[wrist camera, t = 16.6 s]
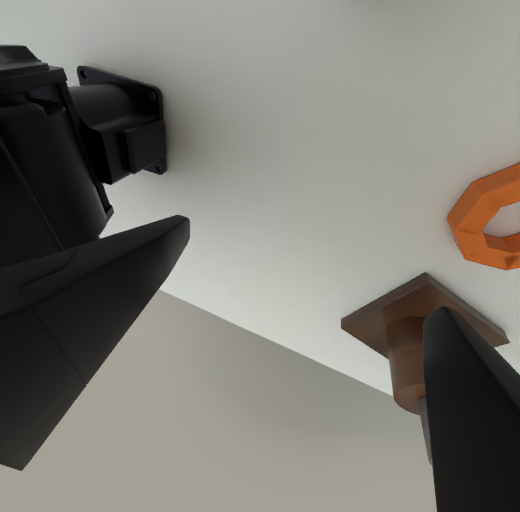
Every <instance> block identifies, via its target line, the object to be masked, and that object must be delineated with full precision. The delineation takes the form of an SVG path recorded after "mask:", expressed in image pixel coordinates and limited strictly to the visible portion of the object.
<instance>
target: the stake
mask: <svg viewBox="0 0 520 512" xmlns="http://www.w3.org/2000/svg"><path fill="white" fill-rule="evenodd" d="M442 305H445V306H448V307H451V308H454V309H456V310H458V311H459V312H460V313H461V314H462V315H463V316H464V318H465V319H466V320H467V321H468V322H469V323H470V324H471V325H472V326H473V327H474V328H475V329H476V330H477V331H478V332H479V333H480V334H481V335H482V336H483V337H484V338H485V339H486V340H487V341H488V343H489V344H490V345H491V346H492V347H493V348H494V347H498V346H501V345H504V344H508V343H510V341H509V340H508V338H507V336H506V334H505V332H504V331H503V330H501V329H500V328H499V327H497V326H496V325H495V324H493V323H492V322H491V321H489V320H488V319H487V318H485V317H484V316H483V315H481V314H480V313H479V312H477V311H476V310H475V309H473V308H472V307H471V306H469V305H468V304H467V303H465V302H464V301H463V300H461V299H460V298H459V297H457V296H456V295H455V294H453V293H452V292H451V291H449V290H448V289H447V288H445V287H444V286H443V285H441V284H440V283H439V282H437V281H436V280H435V279H433V278H432V277H431V276H429V275H428V274H427V273H424V274H422V275H420V276H419V277H417V278H415V279H413V280H411V281H410V282H408V283H406V284H404V285H402V286H401V287H399V288H397V289H395V290H393V291H392V292H390V293H388V294H386V295H385V296H383V297H381V298H379V299H377V300H376V301H374V302H372V303H370V304H368V305H367V306H365V307H363V308H361V309H359V310H358V311H356V312H354V313H352V314H351V315H349V316H347V317H345V318H343V319H342V320H341V328H342V329H343V330H345V331H346V332H348V333H349V334H351V335H352V336H354V337H355V338H357V339H358V340H360V341H361V342H363V343H364V344H366V345H367V346H369V347H370V348H372V349H374V350H375V351H377V352H378V353H380V354H381V355H383V356H384V357H386V358H387V359H389V363H390V371H391V379H392V388H393V396H394V400H395V402H396V403H397V404H398V405H399V406H400V407H402V408H403V409H405V410H406V411H409V412H411V413H414V414H417V415H420V417H421V422H422V428H423V433H424V438H425V444H426V449H427V455H428V460H429V463H430V464H431V465H432V456H431V446H430V436H429V426H428V416H427V406H426V396H425V386H424V376H423V324H424V321H425V319H426V318H427V317H428V316H429V315H430V314H431V313H432V312H434V311H435V310H436V309H437V308H438V307H440V306H442Z"/></svg>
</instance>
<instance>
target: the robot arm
mask: <svg viewBox="0 0 520 512" xmlns="http://www.w3.org/2000/svg"><path fill="white" fill-rule="evenodd" d="M85 73H86V75H87V77H86V75H85ZM77 74H78V78H79V82H80V86H75V87H68V86H67V83H66V81H67V77H66V75H65V72H64V69H63V68H61V67H54V66H48V63H44V62H41V60H38V59H37V58H36V57H35V55H34V54H33V53H32V52H31V51H30V50H29V49H28V48H27V47H26V46H21V45H0V464H1V465H5V466H8V467H10V468H14V469H17V470H20V471H22V470H23V469H24V467H26V465H27V464H28V463H29V462H30V460H31V459H32V457H33V456H34V455H35V454H36V452H37V451H38V449H39V448H40V447H41V446H42V444H43V443H44V442H45V440H46V439H47V438H48V436H49V435H50V434H51V432H52V431H53V429H54V428H55V427H56V425H57V424H58V423H59V421H60V420H61V419H62V418H63V416H64V415H65V413H66V412H67V411H68V409H69V408H70V407H71V406H72V404H73V403H74V401H75V400H76V399H77V398H78V396H79V395H80V393H81V392H82V391H83V389H84V388H85V387H86V384H88V382H89V381H90V380H91V378H92V377H93V376H94V374H95V373H96V372H97V371H98V369H99V368H100V366H101V365H102V364H103V362H104V361H105V360H106V359H107V357H108V356H109V354H110V353H111V352H112V350H113V349H114V348H115V346H116V345H117V344H118V342H119V341H120V340H121V338H122V337H123V336H124V334H125V333H126V332H127V330H128V329H129V328H130V326H131V325H132V324H133V322H134V321H135V320H136V318H137V317H138V316H139V314H140V313H141V312H142V310H143V309H144V308H145V306H146V305H147V304H148V302H149V301H150V300H151V298H152V297H153V296H154V294H155V293H156V292H157V290H158V289H159V288H160V286H161V285H162V284H163V282H164V281H165V280H166V278H167V277H168V276H169V274H170V272H171V271H172V269H173V267H174V266H175V264H176V262H177V261H178V259H179V257H180V255H181V254H182V252H183V250H184V248H185V247H186V245H187V243H188V241H189V238H190V220H189V218H187V217H184V216H181V215H175V216H172V217H169V218H165V219H162V220H159V221H156V222H153V223H149V224H146V225H143V226H140V227H136V228H133V229H130V230H127V231H124V232H120V233H117V234H114V235H111V236H107V237H104V238H101V239H100V237H99V235H100V234H101V232H102V231H103V229H104V228H105V226H106V223H107V222H108V221H109V219H110V218H111V216H112V215H113V213H114V210H113V207H112V205H110V203H109V201H108V198H107V195H106V192H105V189H104V187H103V184H104V183H106V184H109V185H112V184H114V183H115V182H117V181H119V180H121V179H122V178H124V177H126V176H128V175H129V174H136V173H137V172H139V171H141V170H143V169H144V170H147V171H150V172H153V173H156V174H159V175H162V174H163V173H165V172H166V139H165V124H164V122H163V107H162V95H161V92H160V90H159V89H158V88H157V87H155V86H152V85H149V84H145V83H142V82H139V81H135V80H132V79H129V78H125V77H122V76H119V75H115V74H112V73H108V72H105V71H102V70H98V69H95V68H92V67H88V66H79V67H78V68H77ZM152 92H154V93H155V96H156V97H155V98H154V97H153V94H152ZM158 166H159V167H160V168H161V170H160V169H159V167H158ZM423 376H424V386H425V396H426V406H427V416H428V426H429V436H430V446H431V456H432V466H433V476H434V486H435V496H436V506H437V512H520V375H519V374H518V373H517V372H516V371H515V370H514V369H513V367H512V366H511V365H510V364H509V363H508V362H507V361H506V360H505V359H504V358H503V357H502V356H501V355H500V354H499V353H498V352H497V351H496V350H495V349H494V348H493V347H492V346H491V345H490V344H489V343H488V341H487V340H486V339H485V338H484V337H483V336H482V335H481V334H480V333H479V332H478V331H477V330H476V329H475V328H474V327H473V326H472V325H471V324H470V323H469V322H468V321H467V320H466V319H465V318H464V316H463V315H462V314H461V313H460V312H459V311H458V310H456V309H454V308H451V307H448V306H445V305H442V306H440V307H438V308H437V309H436V310H435V311H434V312H432V313H431V314H430V315H429V316H428V317H427V318H426V319H425V321H424V324H423Z"/></svg>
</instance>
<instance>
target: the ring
mask: <svg viewBox="0 0 520 512" xmlns="http://www.w3.org/2000/svg"><path fill="white" fill-rule="evenodd" d="M518 201H520V163H519V164H517V165H514V166H512V167H509V168H507V169H504V170H502V171H499V172H497V173H494V174H492V175H489V176H487V177H484V178H482V179H479V180H477V181H474V182H472V183H471V185H470V186H469V187H468V189H467V190H466V192H465V193H464V194H463V196H462V197H461V198H460V200H459V201H458V202H457V204H456V205H455V207H454V208H453V209H452V211H451V212H450V213H449V215H448V216H447V221H448V223H449V226H450V228H451V231H452V233H453V236H454V238H455V241H456V243H457V246H458V248H459V249H460V251H461V253H462V255H463V257H464V259H465V260H468V261H472V262H476V263H480V264H484V265H488V266H492V267H495V268H499V269H503V270H511V269H516V268H520V233H519V234H515V235H512V236H508V237H505V238H498V237H493V236H489V235H485V234H484V233H483V230H482V228H483V227H484V226H485V225H486V224H487V223H488V221H489V220H490V219H491V218H492V217H493V216H494V215H495V213H496V212H497V211H498V210H499V209H500V208H501V207H503V206H506V205H509V204H512V203H515V202H518Z"/></svg>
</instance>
